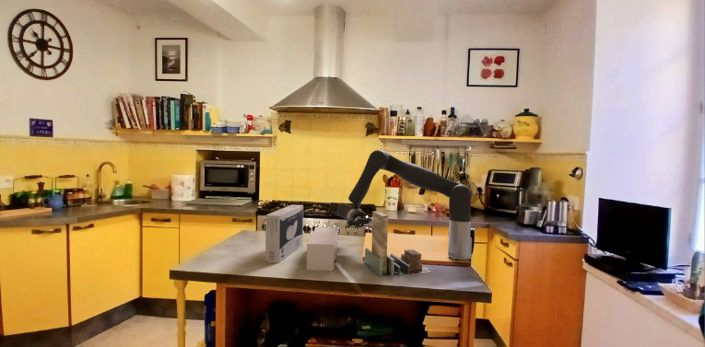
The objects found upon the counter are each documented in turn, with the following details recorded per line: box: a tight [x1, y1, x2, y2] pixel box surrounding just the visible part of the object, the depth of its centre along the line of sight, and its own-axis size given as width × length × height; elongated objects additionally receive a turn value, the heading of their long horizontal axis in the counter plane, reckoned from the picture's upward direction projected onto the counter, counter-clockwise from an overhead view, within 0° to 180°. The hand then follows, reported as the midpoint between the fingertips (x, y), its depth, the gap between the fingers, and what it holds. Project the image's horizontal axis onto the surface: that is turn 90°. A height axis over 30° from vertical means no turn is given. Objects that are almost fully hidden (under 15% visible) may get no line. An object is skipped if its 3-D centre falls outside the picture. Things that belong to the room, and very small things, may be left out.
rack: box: [363, 247, 433, 277], centre depth 148 cm, size 22×17×8 cm
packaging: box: [264, 204, 304, 264], centre depth 170 cm, size 30×6×20 cm, turn 168°
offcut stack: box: [400, 249, 423, 270], centre depth 149 cm, size 5×9×6 cm, turn 17°
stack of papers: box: [306, 226, 339, 271], centre depth 163 cm, size 32×11×11 cm, turn 179°
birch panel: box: [371, 210, 389, 273], centre depth 145 cm, size 2×10×22 cm, turn 17°
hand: (368, 224), depth 157 cm, fingers open, 8 cm apart
